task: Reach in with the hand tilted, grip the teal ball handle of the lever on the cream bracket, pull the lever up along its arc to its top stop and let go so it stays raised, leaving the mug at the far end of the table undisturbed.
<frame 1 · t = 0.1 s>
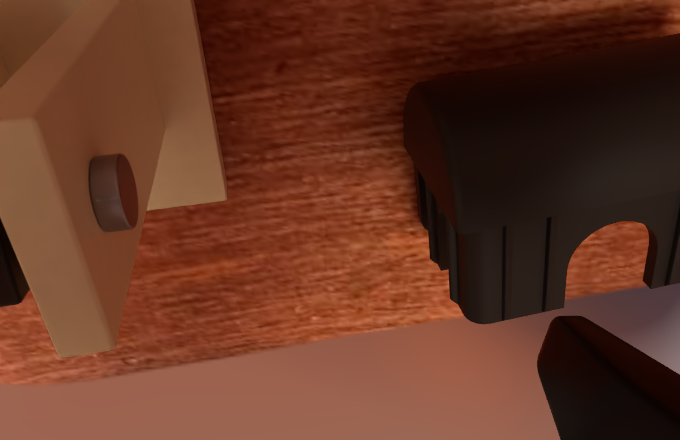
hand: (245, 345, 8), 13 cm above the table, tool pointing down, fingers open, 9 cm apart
end cap: (527, 120, 23), on the table
bracket: (72, 59, 19), on the table
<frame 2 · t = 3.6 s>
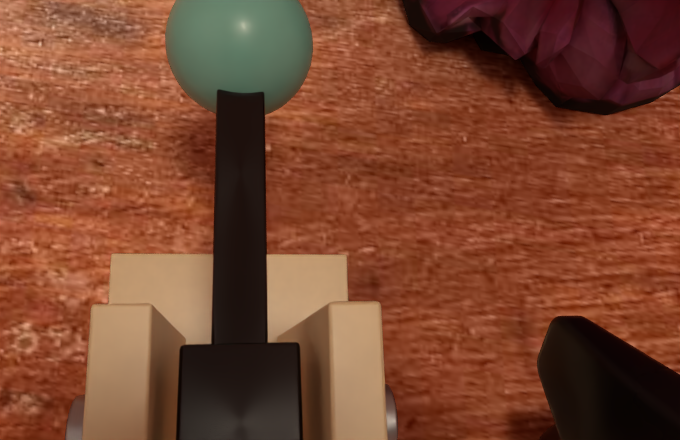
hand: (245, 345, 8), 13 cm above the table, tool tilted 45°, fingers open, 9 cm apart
bracket: (231, 403, 21), on the table
lever: (239, 203, 13), point 9 cm above the table, hinge at -8.0°
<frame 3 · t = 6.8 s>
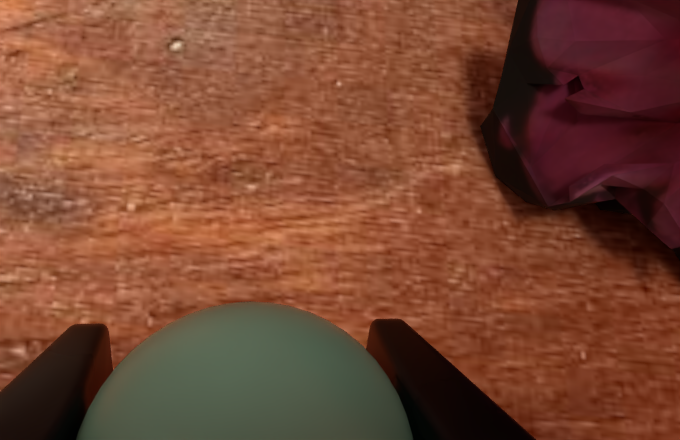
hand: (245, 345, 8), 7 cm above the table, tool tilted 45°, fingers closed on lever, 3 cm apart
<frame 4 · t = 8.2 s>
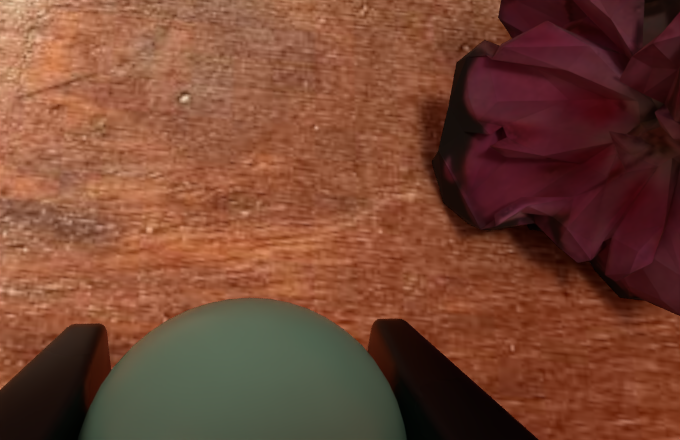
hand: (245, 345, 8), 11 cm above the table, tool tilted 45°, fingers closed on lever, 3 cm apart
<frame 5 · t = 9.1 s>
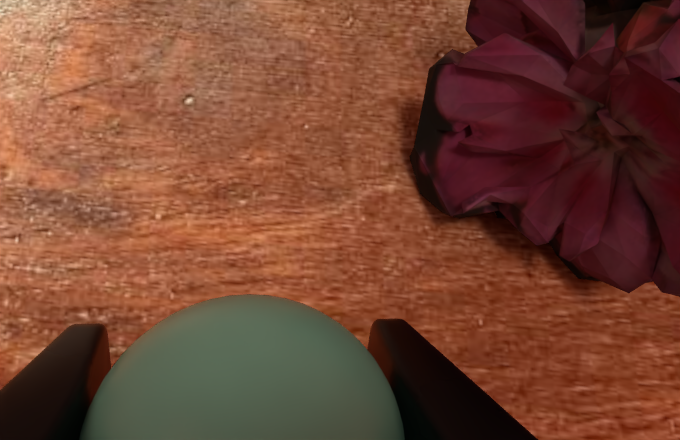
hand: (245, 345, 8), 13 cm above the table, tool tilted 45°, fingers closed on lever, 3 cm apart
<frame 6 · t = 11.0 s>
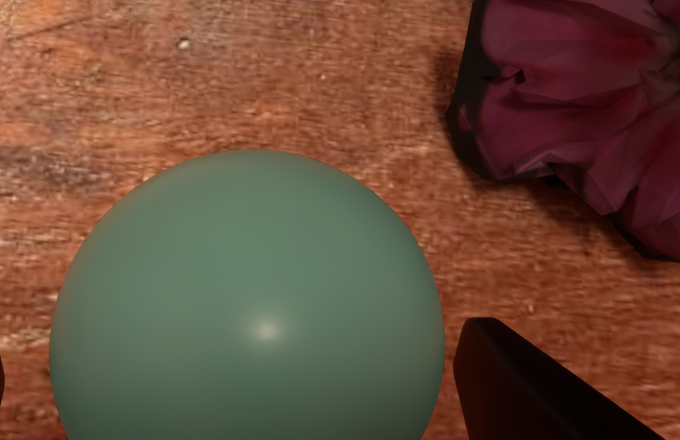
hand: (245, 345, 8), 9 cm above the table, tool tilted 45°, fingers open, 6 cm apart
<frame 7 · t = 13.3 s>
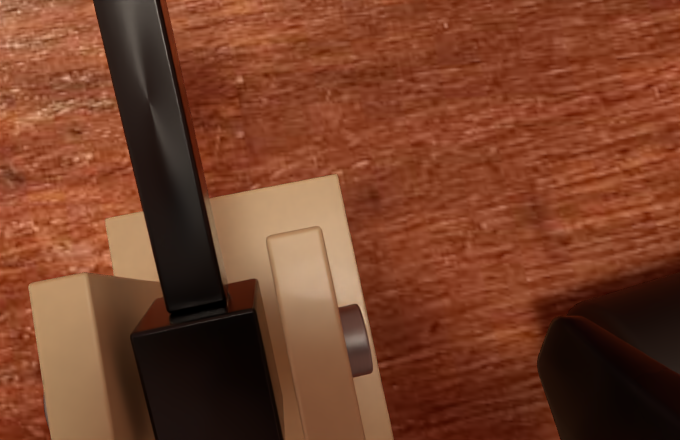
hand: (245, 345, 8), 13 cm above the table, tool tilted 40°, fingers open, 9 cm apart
bracket: (253, 339, 21), on the table
lever: (160, 131, 11), point 11 cm above the table, hinge at 15.4°
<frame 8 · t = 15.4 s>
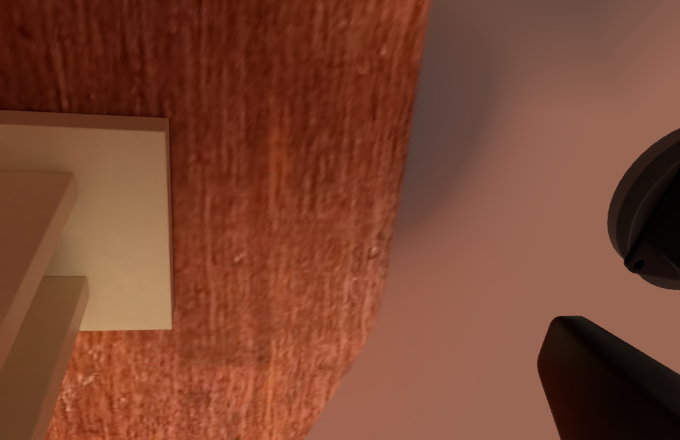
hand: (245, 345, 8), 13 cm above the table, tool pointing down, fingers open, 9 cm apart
bracket: (21, 220, 21), on the table
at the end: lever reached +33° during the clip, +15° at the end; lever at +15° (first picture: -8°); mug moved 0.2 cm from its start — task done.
